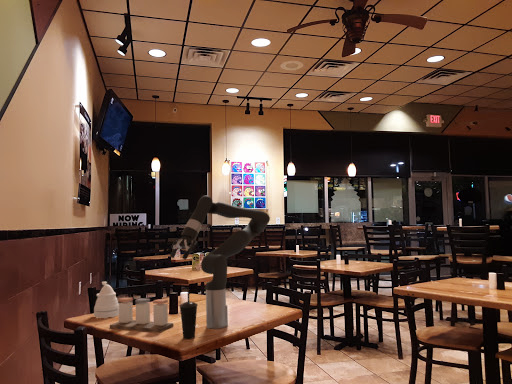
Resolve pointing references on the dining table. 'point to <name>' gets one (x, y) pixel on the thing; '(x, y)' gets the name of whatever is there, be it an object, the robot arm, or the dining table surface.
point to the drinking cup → (188, 318)
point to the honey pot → (106, 303)
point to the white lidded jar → (142, 311)
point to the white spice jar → (125, 310)
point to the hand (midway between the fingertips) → (177, 257)
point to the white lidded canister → (160, 312)
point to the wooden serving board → (141, 326)
